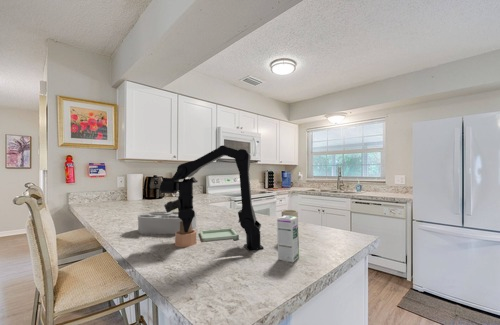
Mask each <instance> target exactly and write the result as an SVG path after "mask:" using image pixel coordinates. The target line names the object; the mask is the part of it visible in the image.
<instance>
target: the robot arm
mask: <svg viewBox="0 0 500 325" xmlns="http://www.w3.org/2000/svg"><path fill="white" fill-rule="evenodd" d="M225 156H226V157H229V158H232V159H234V161H235V163H236V167H237V169H238V173H239V185H240V196H241V209H240V210H238V212H237V216H238V222H237V223H239V224H240V227H241V228H242V229H243V230H244V232H245V235H246V236H245V237H246V239H245V240H246V243H245V244H243V247H244V248H245V249H246V250H247V251H256V250H263V249H264V246H263V245H262V244H261V231H260V230H261V227H262V224H261V223H260V221H258V220H257V217H256V213H255V210H254V207H253V204H252V203H253V202H252V190H251V183H250V182H251V181H250V180H251V179H250V178H251V177H250V166H251V159H252V158H251V157H252V156H251V153H250V152H249V151H247V150H246V149H243V148H240V149H235V148H232V147H228V146H226V145H220V146H218V147H216V148H215V149H213V150H212V151H209V152H208V153H206V154H204V155H202V156H201V157H199V158H197V159H194V160H191V161H187V162H184V163H180V164H179V165H178V166H177V169H176V171H175V173H174V174H173V175H172V177H162V180H161V183H160V185H159V190H160V193H161V194H177V193H178V196H177V199H176V200H173V201H172V200H170V201H167V202H166V203H165V204H164V209H165V212H167V213H168V212H173V211H175V210H176V209H177V212H178V218H180V219H181V220H182V221H183V226H184V231H185V232H188V229H189V227H190V224H191V222H192V220H193V217H195V210H194V194H193V192H194V188H193V186H194V184H196V183H198V182H199V181H198V180H197V179H196V178H195V177H194V175H195V174H197V173H198V172H199V171H200V170H201V169H203V168H204V167H205V166H209V164H212V163H213V162H215V161H217V160H220V159H221V158H222V157H225ZM181 180H182V181H181Z"/></svg>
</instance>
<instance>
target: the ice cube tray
mask: <svg viewBox="0 0 500 325" xmlns="http://www.w3.org/2000/svg"><path fill="white" fill-rule="evenodd" d="M181 221H182V220H181V219H180V218H178V211H170V212H168V213H167V212H166V211H151V212H144V213H141V214H138V215H137V231H138V233H139V234H141V235H147V236H148V235H158V234H159V235H160V234H161V235H162V234H164V235H175V232H176V231H180V222H181ZM196 227H197V212H195V217H193V220H192V230H196Z"/></svg>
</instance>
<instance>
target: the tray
mask: <svg viewBox="0 0 500 325" xmlns="http://www.w3.org/2000/svg"><path fill="white" fill-rule="evenodd" d="M199 235H200V238H201V240H202V241H201V242H202V243H203V242H204V243H205V242H213V241H222V240H231V239H232V241H239V240H240V236H239V234H238V233H237V232H236V231H235V230H234V229H233V227H230V228H229V227H228V228H227V227H226V228H218V229H217V228H215V229H205V230H199Z"/></svg>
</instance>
